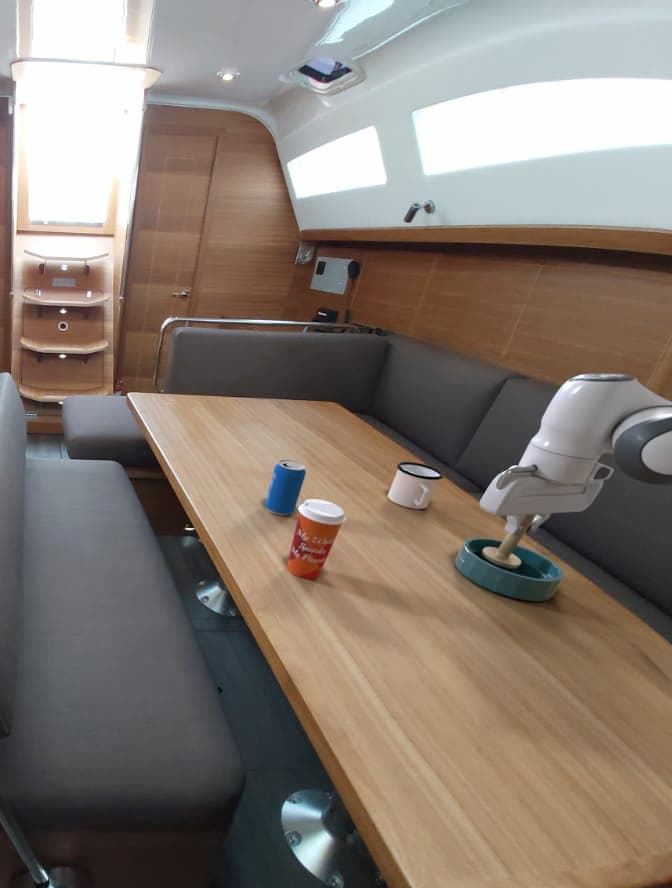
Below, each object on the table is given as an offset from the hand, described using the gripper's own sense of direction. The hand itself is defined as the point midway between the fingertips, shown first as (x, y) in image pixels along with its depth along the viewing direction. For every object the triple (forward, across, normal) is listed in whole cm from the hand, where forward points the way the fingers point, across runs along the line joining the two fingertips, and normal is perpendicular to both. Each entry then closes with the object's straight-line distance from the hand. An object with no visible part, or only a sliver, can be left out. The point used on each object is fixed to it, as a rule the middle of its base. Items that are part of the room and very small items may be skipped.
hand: (519, 531), depth 94 cm
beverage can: (+10, -29, +28) cm, 42 cm away
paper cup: (+10, -38, +5) cm, 40 cm away
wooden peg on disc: (+9, 0, +1) cm, 9 cm away
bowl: (+10, -1, -2) cm, 10 cm away
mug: (+10, +7, +28) cm, 31 cm away
